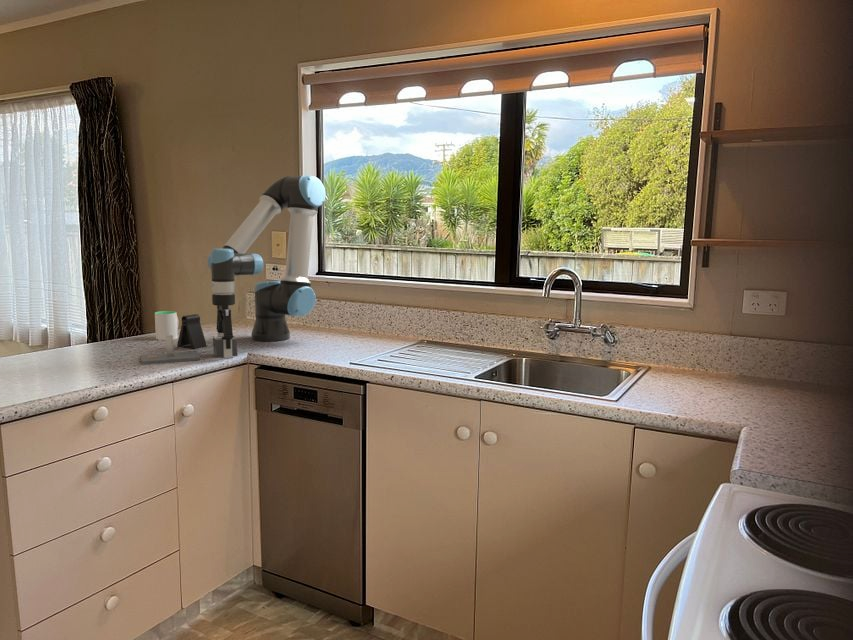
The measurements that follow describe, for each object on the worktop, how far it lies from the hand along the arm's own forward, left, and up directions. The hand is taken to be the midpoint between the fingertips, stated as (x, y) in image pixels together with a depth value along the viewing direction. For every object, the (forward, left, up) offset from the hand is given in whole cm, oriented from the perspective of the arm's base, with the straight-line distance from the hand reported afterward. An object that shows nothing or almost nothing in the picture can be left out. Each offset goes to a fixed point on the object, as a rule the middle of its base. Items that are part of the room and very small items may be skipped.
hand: (225, 354), depth 221 cm
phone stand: (+9, -19, 0) cm, 21 cm away
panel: (+18, 0, 0) cm, 18 cm away
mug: (+15, -43, 0) cm, 46 cm away
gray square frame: (0, 0, 0) cm, 0 cm away
